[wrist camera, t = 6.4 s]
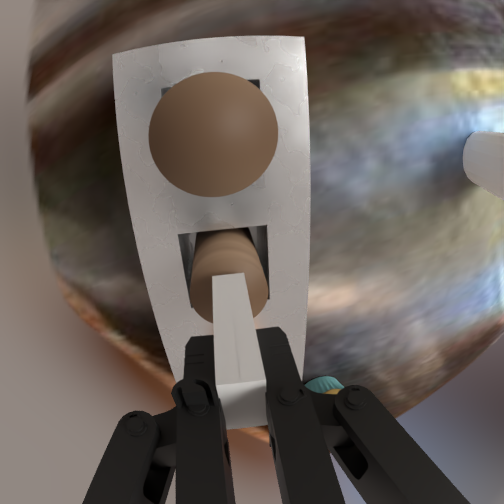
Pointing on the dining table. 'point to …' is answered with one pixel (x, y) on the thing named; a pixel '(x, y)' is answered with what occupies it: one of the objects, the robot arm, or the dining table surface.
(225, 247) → the plug mid
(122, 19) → the dining table surface
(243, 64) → the jig
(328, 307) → the dining table surface
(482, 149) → the white cup
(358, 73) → the dining table surface
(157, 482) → the robot arm
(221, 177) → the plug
